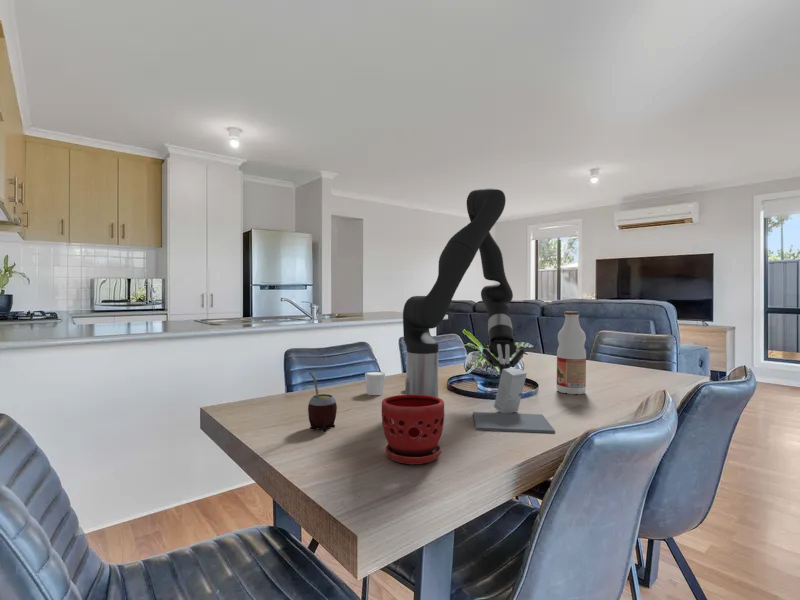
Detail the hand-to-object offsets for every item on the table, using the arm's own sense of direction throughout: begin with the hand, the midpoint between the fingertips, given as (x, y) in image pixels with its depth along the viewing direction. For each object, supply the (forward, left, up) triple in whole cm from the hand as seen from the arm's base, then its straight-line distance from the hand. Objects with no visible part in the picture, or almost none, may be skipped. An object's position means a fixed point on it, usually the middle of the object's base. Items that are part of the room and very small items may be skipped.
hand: (505, 377), depth 124 cm
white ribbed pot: (-41, +16, -10) cm, 45 cm away
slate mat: (0, -11, -10) cm, 15 cm away
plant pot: (-24, -37, -10) cm, 45 cm away
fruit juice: (+26, +28, -10) cm, 39 cm away
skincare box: (0, 0, -9) cm, 9 cm away
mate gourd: (-48, -22, -10) cm, 54 cm away
